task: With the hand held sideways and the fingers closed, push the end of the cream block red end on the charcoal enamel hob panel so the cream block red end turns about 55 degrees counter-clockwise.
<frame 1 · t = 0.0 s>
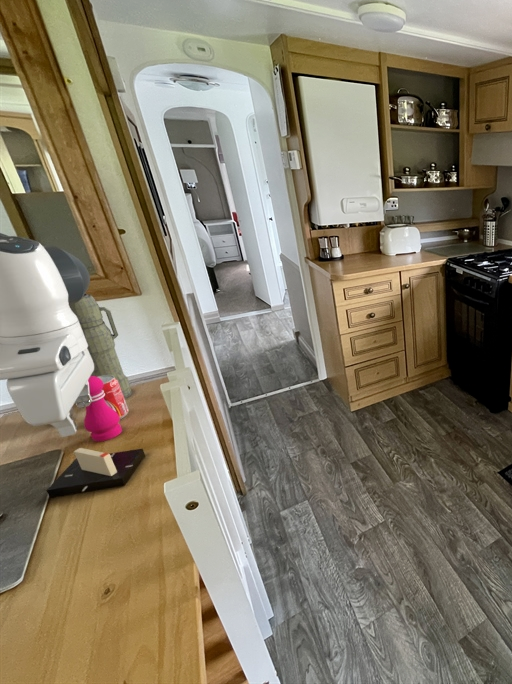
hand: (78, 418, 64), 30 cm above the table, tool pointing down, fingers open, 8 cm apart
pepper mill: (107, 435, 107), on the table
soda can: (114, 417, 115), on the table
hob panel: (101, 475, 92), on the table
cream block red end: (95, 461, 89), point 5 cm above the table, hinge at -30.0°
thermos: (115, 397, 125), on the table
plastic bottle: (61, 420, 113), on the table
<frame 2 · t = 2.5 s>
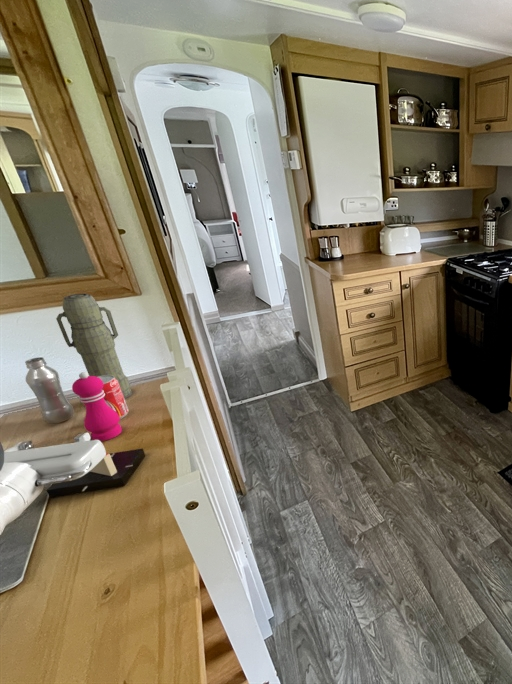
hand: (57, 439, 74), 20 cm above the table, tool horizontal, fingers open, 8 cm apart
nothing on the table moved.
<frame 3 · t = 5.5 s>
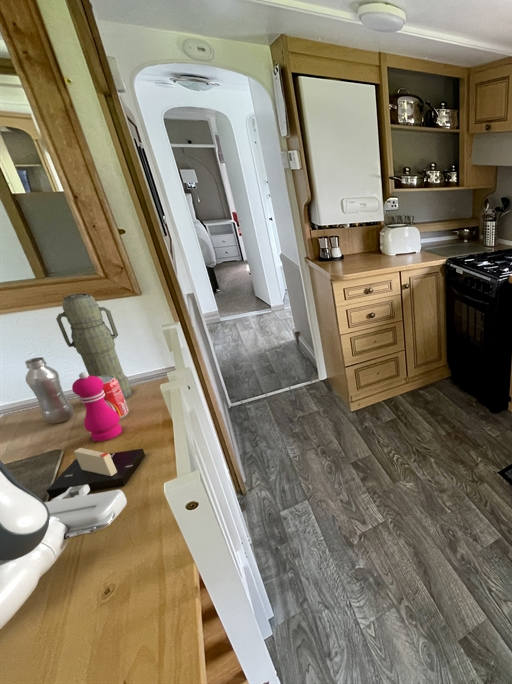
hand: (80, 488, 79), 7 cm above the table, tool horizontal, fingers closed
nothing on the table moved.
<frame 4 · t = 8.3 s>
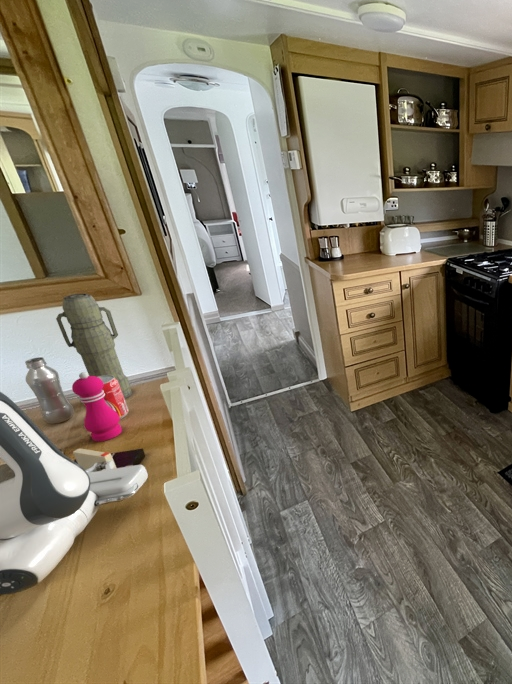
hand: (105, 463, 88), 6 cm above the table, tool horizontal, fingers closed
cream block red end: (95, 461, 89), point 5 cm above the table, hinge at -27.3°, touching gripper
everything else where it was.
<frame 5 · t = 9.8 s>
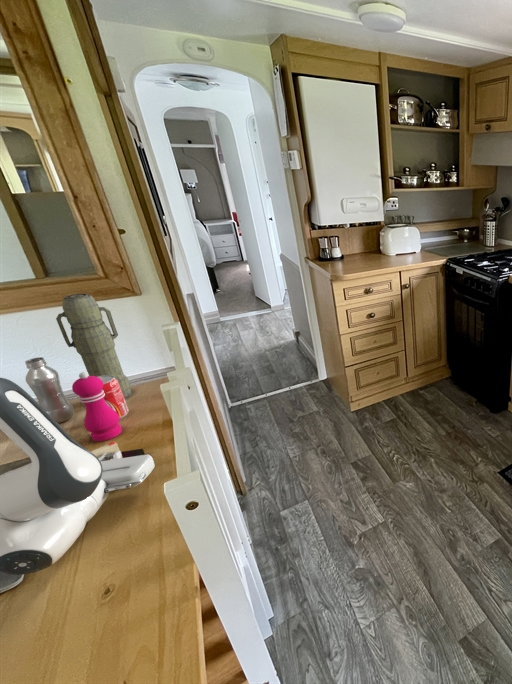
hand: (113, 453, 91), 6 cm above the table, tool horizontal, fingers closed
cream block red end: (95, 461, 89), point 5 cm above the table, hinge at 41.9°, touching gripper
everything else where it was.
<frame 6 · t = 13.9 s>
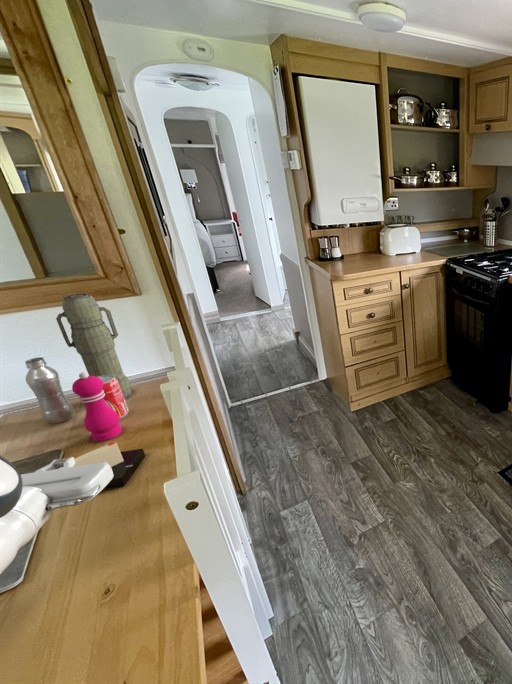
hand: (65, 460, 76), 15 cm above the table, tool horizontal, fingers closed
cream block red end: (95, 461, 89), point 5 cm above the table, hinge at 41.9°
everything else where it was.
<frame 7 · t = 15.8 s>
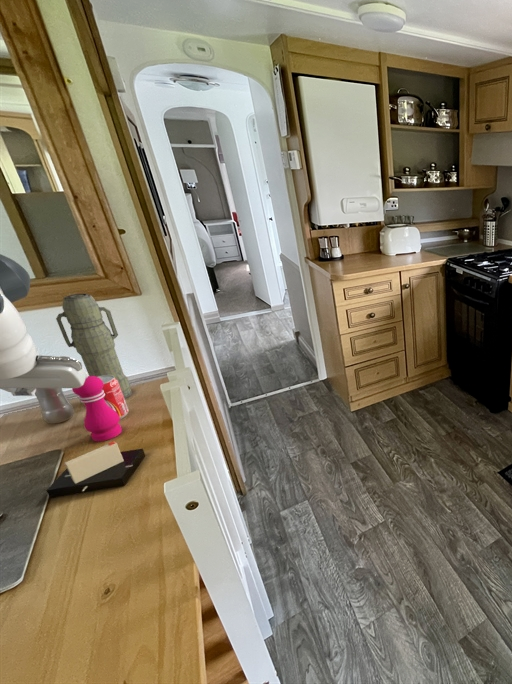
hand: (25, 392, 80), 25 cm above the table, tool tilted 35°, fingers closed
nothing on the table moved.
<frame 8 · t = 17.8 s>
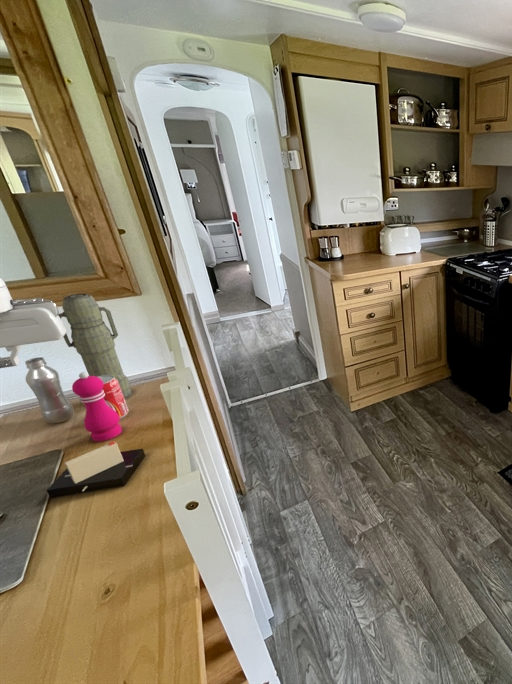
hand: (8, 366, 79), 31 cm above the table, tool pointing down, fingers closed
nothing on the table moved.
at the end: cream block red end at +42° (first picture: -30°) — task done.
